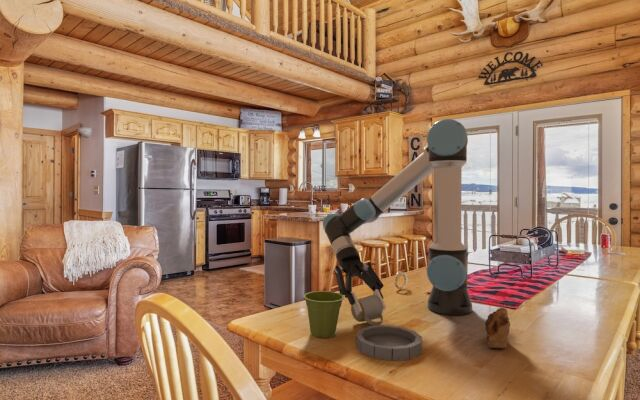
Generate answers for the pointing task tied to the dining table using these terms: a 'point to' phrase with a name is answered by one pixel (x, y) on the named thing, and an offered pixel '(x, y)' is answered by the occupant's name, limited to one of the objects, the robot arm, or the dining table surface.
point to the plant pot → (323, 312)
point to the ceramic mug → (369, 310)
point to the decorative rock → (497, 328)
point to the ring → (398, 278)
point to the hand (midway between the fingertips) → (371, 311)
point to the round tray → (389, 342)
